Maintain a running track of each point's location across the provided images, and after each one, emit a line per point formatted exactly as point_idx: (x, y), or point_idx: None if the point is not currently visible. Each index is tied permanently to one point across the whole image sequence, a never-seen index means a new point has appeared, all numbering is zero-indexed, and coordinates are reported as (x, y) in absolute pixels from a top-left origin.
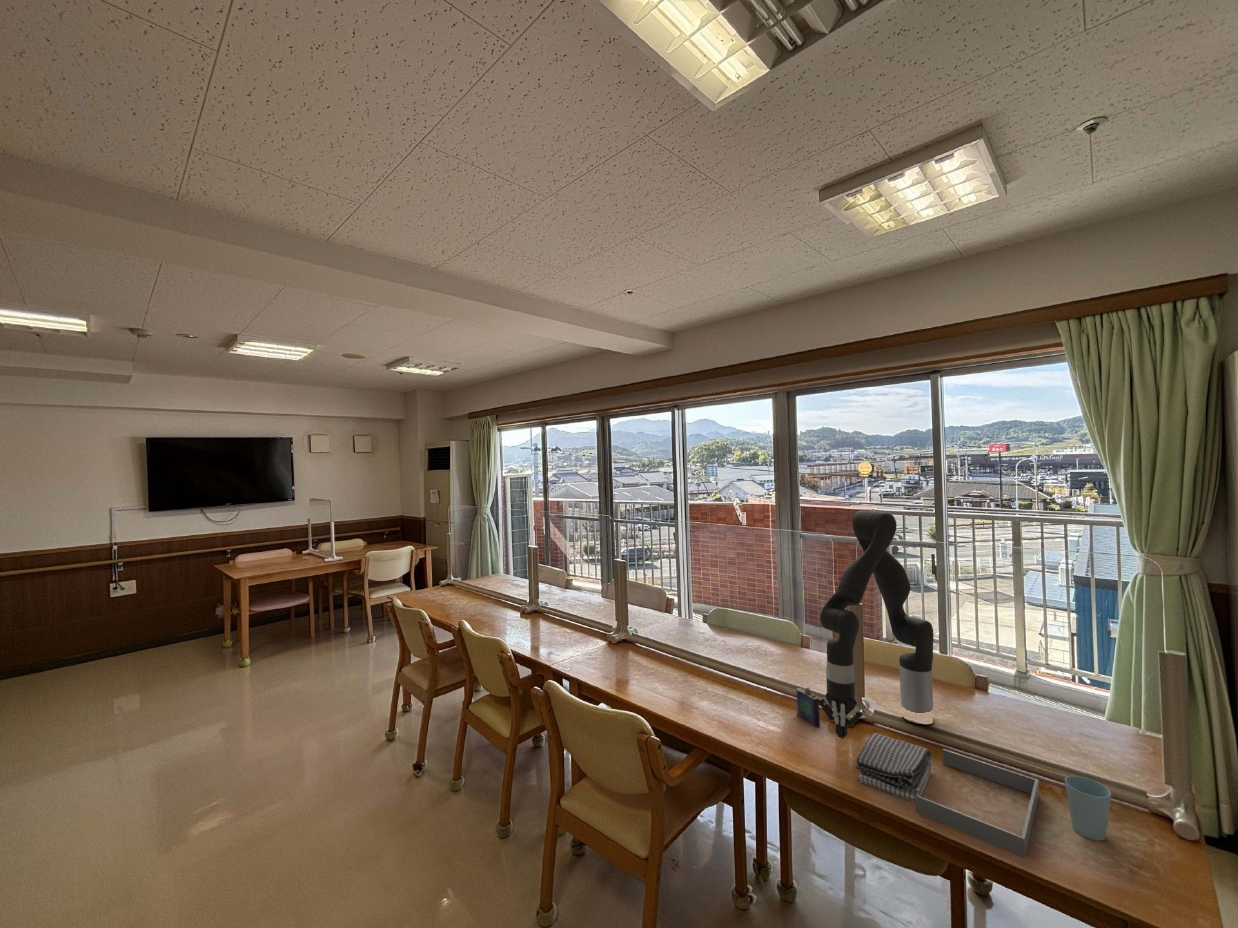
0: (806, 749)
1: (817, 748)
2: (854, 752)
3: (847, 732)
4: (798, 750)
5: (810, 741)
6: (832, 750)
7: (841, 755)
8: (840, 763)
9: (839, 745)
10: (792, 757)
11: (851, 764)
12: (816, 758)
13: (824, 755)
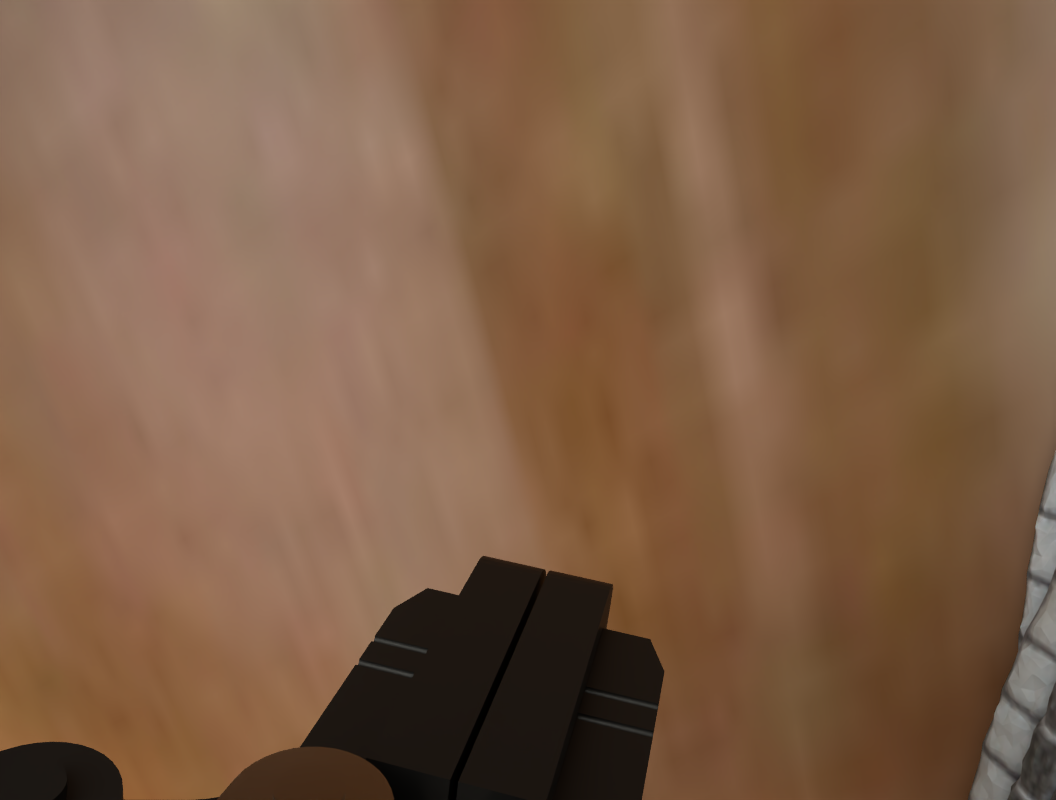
0: (127, 521)
1: (231, 417)
2: (785, 211)
3: (658, 693)
4: (64, 594)
5: (70, 266)
6: (434, 354)
7: (598, 432)
8: None
9: (487, 113)
10: None
11: (794, 612)
12: (318, 675)
13: (380, 555)
